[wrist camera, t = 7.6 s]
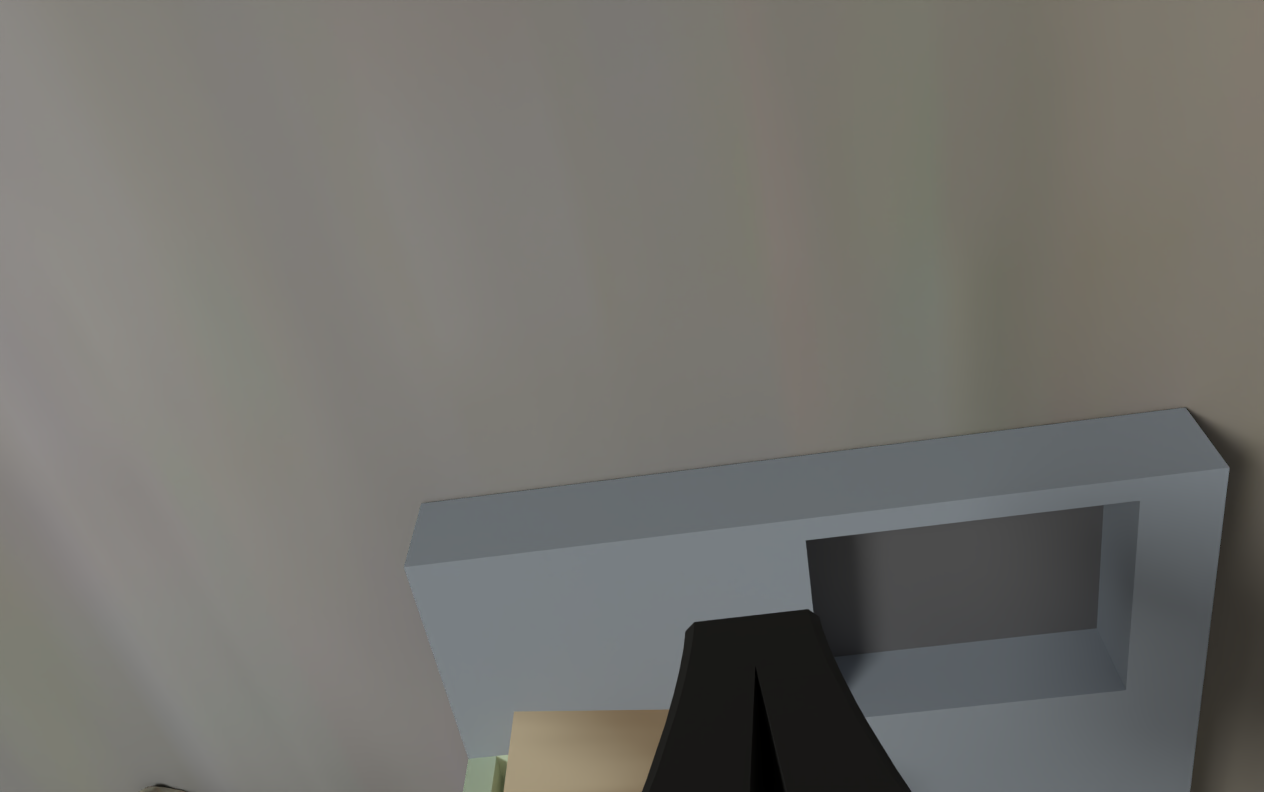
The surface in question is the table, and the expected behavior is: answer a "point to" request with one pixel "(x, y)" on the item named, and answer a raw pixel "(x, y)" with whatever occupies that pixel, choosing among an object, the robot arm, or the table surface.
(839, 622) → the deck
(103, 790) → the table surface
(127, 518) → the table surface
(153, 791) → the washcloth
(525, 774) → the beech block
